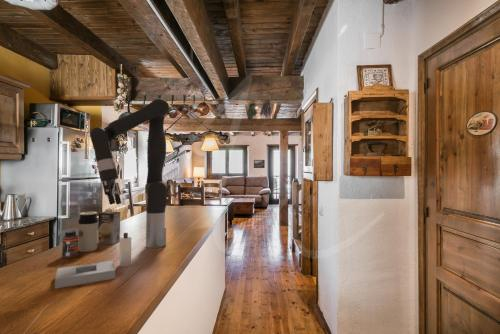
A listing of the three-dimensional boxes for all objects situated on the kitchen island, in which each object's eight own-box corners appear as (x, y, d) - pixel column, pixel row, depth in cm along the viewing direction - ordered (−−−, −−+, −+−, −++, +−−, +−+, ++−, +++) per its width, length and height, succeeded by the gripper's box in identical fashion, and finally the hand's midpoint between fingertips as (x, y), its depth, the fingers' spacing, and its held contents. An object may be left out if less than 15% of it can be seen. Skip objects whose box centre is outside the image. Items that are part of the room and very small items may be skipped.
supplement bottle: (70, 259, 123) (70, 233, 123) (58, 258, 124) (59, 232, 124) (81, 255, 129) (81, 230, 129) (69, 254, 130) (70, 229, 130)
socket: (112, 268, 113) (112, 260, 113) (115, 278, 102) (115, 270, 102) (57, 276, 103) (57, 268, 103) (54, 288, 93) (55, 279, 93)
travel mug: (94, 246, 143) (94, 211, 143) (99, 250, 137) (99, 212, 137) (76, 249, 137) (76, 212, 137) (80, 253, 131) (81, 214, 131)
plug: (123, 262, 119) (124, 231, 119) (133, 263, 119) (133, 232, 119) (117, 266, 115) (117, 234, 115) (127, 266, 114) (127, 234, 114)
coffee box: (97, 243, 149) (97, 212, 149) (105, 240, 155) (105, 211, 156) (112, 244, 148) (113, 213, 148) (120, 241, 154) (120, 211, 154)
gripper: (110, 165, 124) (119, 201, 123) (120, 169, 138) (128, 201, 137) (92, 170, 123) (101, 206, 122) (104, 173, 137) (112, 206, 136)
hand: (115, 204), depth 129 cm, fingers open, 8 cm apart
